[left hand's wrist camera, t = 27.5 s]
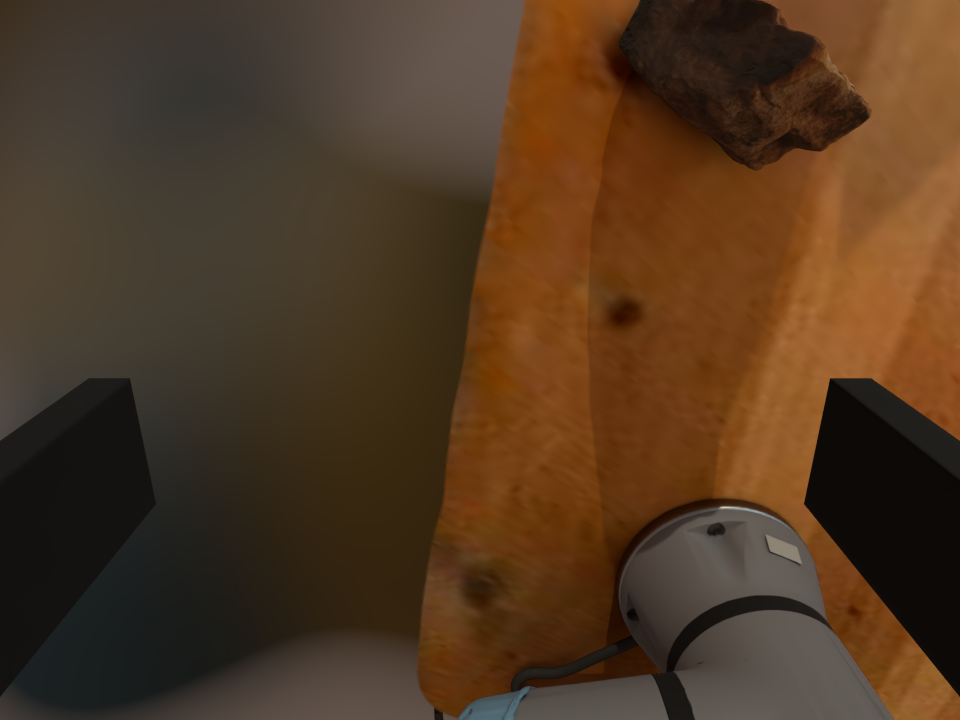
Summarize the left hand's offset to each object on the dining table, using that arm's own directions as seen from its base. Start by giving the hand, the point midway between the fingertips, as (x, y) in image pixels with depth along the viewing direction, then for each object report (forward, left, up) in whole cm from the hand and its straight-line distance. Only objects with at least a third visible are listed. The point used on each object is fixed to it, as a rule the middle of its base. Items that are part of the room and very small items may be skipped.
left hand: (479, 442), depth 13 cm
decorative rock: (+14, -7, -32) cm, 36 cm away
